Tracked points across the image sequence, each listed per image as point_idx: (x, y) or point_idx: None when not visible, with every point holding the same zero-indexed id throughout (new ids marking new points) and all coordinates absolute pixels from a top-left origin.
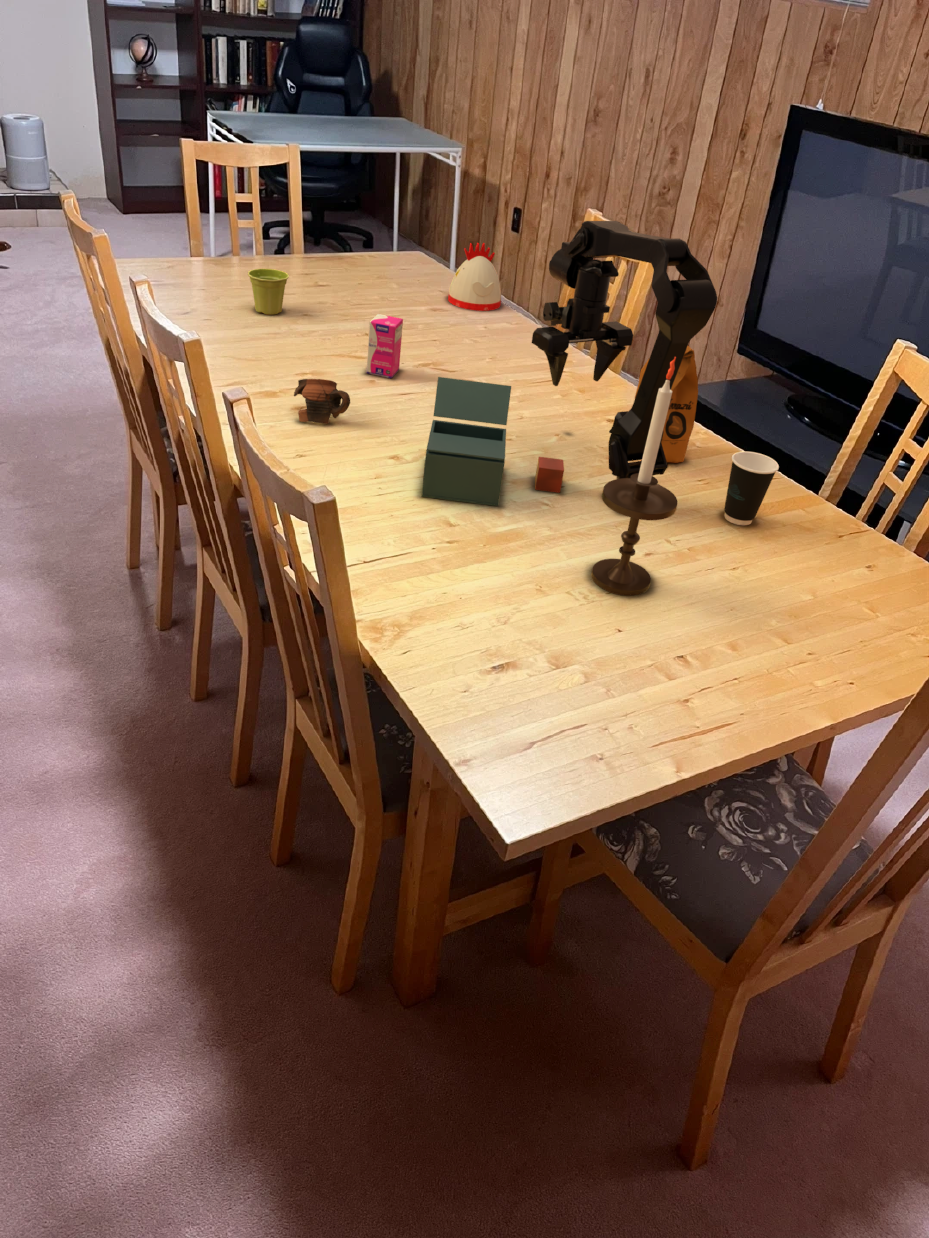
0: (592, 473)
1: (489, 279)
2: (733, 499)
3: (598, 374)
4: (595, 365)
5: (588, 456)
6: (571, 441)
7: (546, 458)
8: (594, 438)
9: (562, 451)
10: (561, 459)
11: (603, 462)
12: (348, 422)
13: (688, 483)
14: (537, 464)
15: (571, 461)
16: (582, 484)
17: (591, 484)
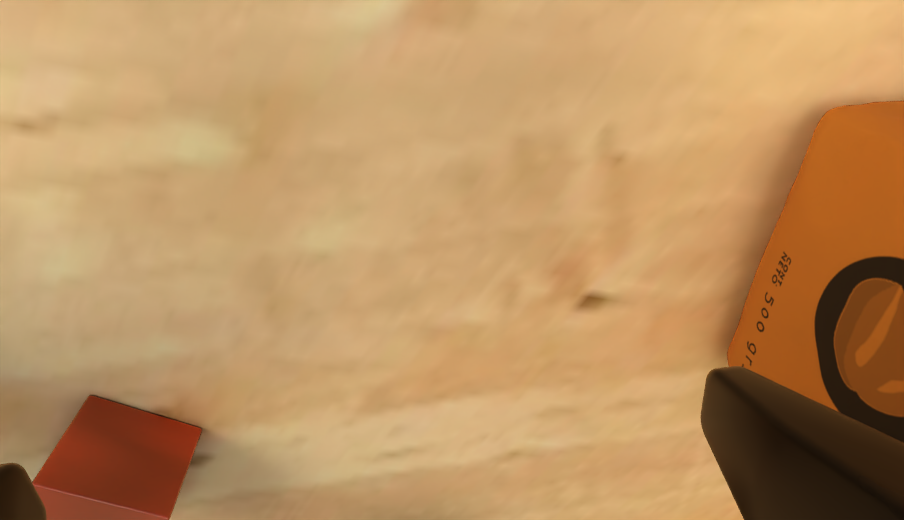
0: (398, 383)
1: None
2: None
3: (757, 517)
4: (870, 513)
5: (479, 237)
6: (492, 46)
7: (71, 505)
8: (658, 38)
9: (366, 159)
10: (158, 517)
11: (514, 303)
12: None
13: (723, 485)
14: (50, 455)
15: (358, 270)
16: (302, 452)
17: (342, 456)
